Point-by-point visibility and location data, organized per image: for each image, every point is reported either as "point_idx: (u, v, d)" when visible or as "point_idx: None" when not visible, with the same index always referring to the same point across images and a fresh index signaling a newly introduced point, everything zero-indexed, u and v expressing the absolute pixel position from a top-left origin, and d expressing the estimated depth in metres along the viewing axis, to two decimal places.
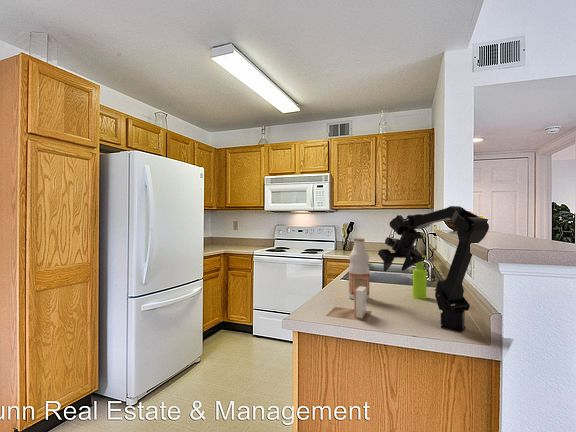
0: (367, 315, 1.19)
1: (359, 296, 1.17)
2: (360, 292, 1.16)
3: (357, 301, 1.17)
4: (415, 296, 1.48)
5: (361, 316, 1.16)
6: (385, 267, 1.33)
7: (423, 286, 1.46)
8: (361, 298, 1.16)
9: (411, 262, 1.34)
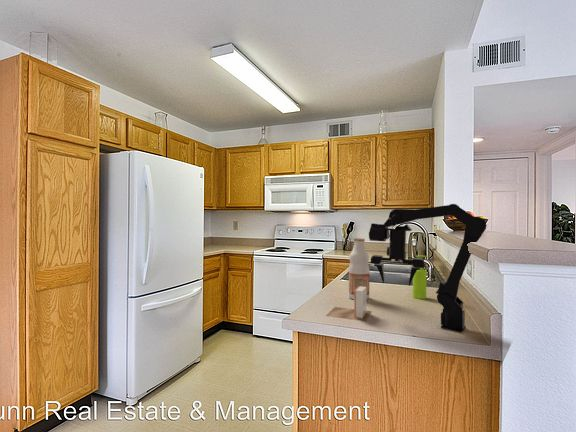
0: (367, 315, 1.19)
1: (359, 296, 1.17)
2: (360, 292, 1.16)
3: (357, 301, 1.17)
4: (415, 296, 1.48)
5: (361, 316, 1.16)
6: (381, 276, 1.19)
7: (423, 286, 1.46)
8: (361, 298, 1.16)
9: (411, 269, 1.14)
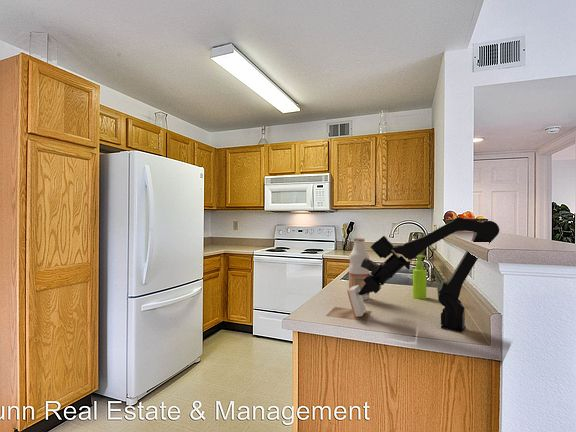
0: (367, 315, 1.19)
1: (353, 295, 1.18)
2: (352, 290, 1.18)
3: (352, 300, 1.18)
4: (415, 296, 1.48)
5: (360, 314, 1.16)
6: (365, 292, 1.19)
7: (423, 286, 1.46)
8: (355, 296, 1.17)
9: None
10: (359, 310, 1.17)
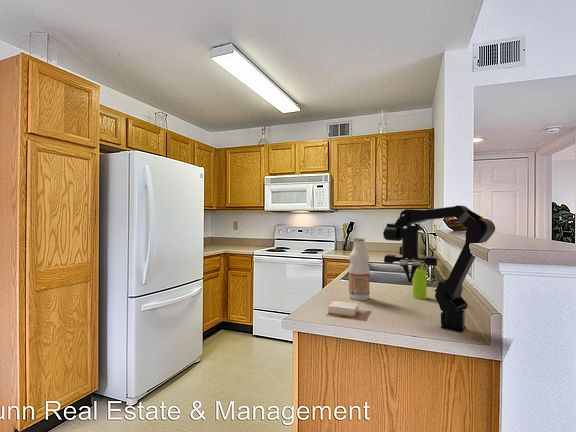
0: (367, 315, 1.19)
1: (333, 309, 1.21)
2: (329, 308, 1.21)
3: (338, 312, 1.20)
4: (415, 296, 1.48)
5: (352, 309, 1.18)
6: None
7: (423, 286, 1.46)
8: (335, 307, 1.20)
9: None
10: (348, 309, 1.18)
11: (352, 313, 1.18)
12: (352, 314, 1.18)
